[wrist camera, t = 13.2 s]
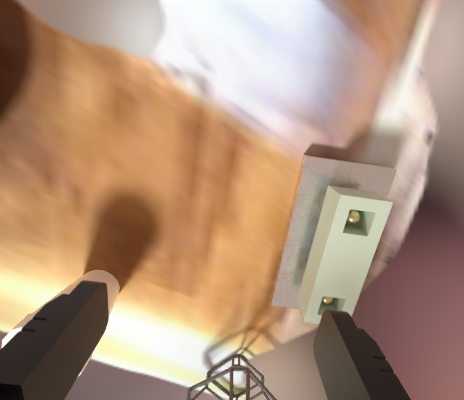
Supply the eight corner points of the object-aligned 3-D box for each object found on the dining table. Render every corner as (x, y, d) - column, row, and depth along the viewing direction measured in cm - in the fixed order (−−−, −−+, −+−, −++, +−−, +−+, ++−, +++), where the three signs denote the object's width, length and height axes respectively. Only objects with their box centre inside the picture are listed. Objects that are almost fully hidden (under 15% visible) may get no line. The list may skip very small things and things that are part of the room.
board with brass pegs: (303, 154, 34) (318, 162, 28) (389, 167, 34) (423, 178, 28) (269, 298, 41) (275, 330, 35) (340, 308, 42) (358, 341, 35)
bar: (328, 185, 32) (340, 194, 28) (374, 192, 32) (393, 202, 28) (296, 301, 37) (303, 322, 33) (336, 306, 37) (347, 327, 33)
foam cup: (134, 307, 42) (92, 384, 30) (82, 311, 43) (19, 389, 31) (121, 258, 40) (68, 322, 27) (65, 263, 40) (-12, 328, 28)
